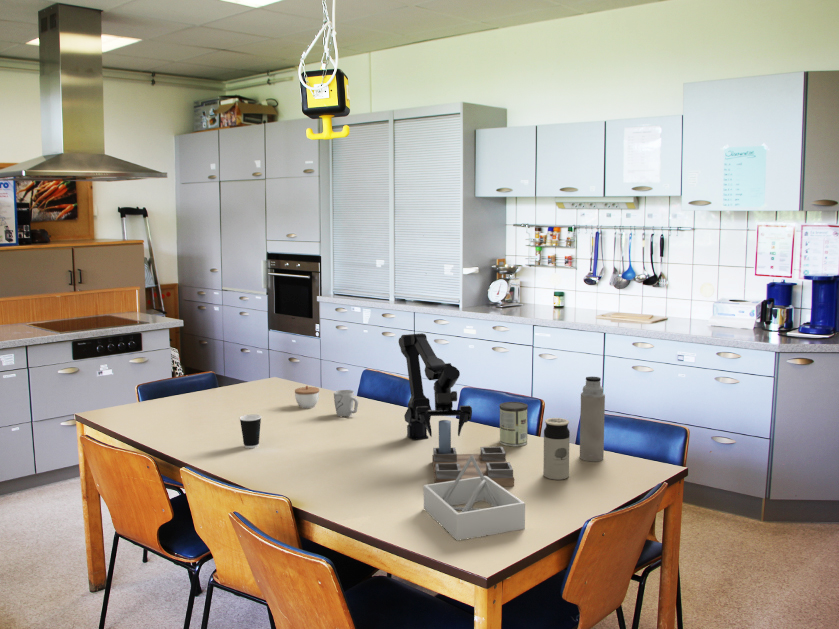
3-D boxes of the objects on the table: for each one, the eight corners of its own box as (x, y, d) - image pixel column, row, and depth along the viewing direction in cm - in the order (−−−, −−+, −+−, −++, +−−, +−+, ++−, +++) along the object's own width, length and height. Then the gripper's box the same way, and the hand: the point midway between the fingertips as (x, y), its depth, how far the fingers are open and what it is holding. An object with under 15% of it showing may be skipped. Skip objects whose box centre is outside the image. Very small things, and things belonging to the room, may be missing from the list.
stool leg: (447, 455, 242) (447, 419, 241) (452, 459, 239) (452, 422, 237) (437, 457, 241) (436, 420, 239) (441, 460, 237) (441, 423, 236)
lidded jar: (299, 403, 327) (298, 383, 326) (322, 403, 325) (321, 383, 324) (292, 409, 316) (291, 388, 315) (315, 409, 315) (315, 388, 314)
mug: (363, 415, 305) (363, 392, 304) (351, 419, 298) (351, 396, 297) (342, 411, 311) (342, 388, 310) (330, 416, 304) (329, 392, 303)
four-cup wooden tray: (432, 461, 244) (432, 447, 243) (503, 460, 245) (503, 446, 244) (435, 487, 220) (435, 471, 220) (514, 486, 221) (514, 470, 220)
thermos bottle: (581, 453, 252) (582, 374, 249) (604, 455, 249) (606, 375, 246) (578, 460, 244) (579, 379, 241) (602, 462, 242) (604, 380, 238)
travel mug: (541, 471, 233) (542, 417, 231) (566, 471, 233) (567, 417, 231) (545, 480, 225) (546, 424, 223) (570, 480, 225) (571, 424, 223)
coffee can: (504, 437, 272) (504, 400, 270) (530, 440, 268) (531, 403, 266) (495, 444, 263) (495, 406, 261) (522, 448, 258) (523, 409, 257)
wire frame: (477, 551, 188) (427, 516, 192) (485, 540, 200) (438, 507, 204) (513, 493, 187) (463, 459, 191) (519, 486, 199) (471, 454, 203)
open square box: (486, 498, 211) (486, 475, 210) (524, 528, 190) (525, 503, 189) (423, 509, 203) (423, 485, 203) (456, 541, 183) (456, 514, 182)
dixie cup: (265, 447, 262) (264, 417, 261) (244, 451, 258) (243, 421, 256) (257, 442, 268) (256, 413, 267) (237, 445, 264) (236, 416, 263)
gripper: (415, 382, 241) (416, 424, 231) (471, 382, 241) (474, 423, 232) (415, 400, 250) (416, 440, 240) (469, 399, 250) (472, 439, 241)
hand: (444, 435), depth 238 cm, fingers open, 9 cm apart
